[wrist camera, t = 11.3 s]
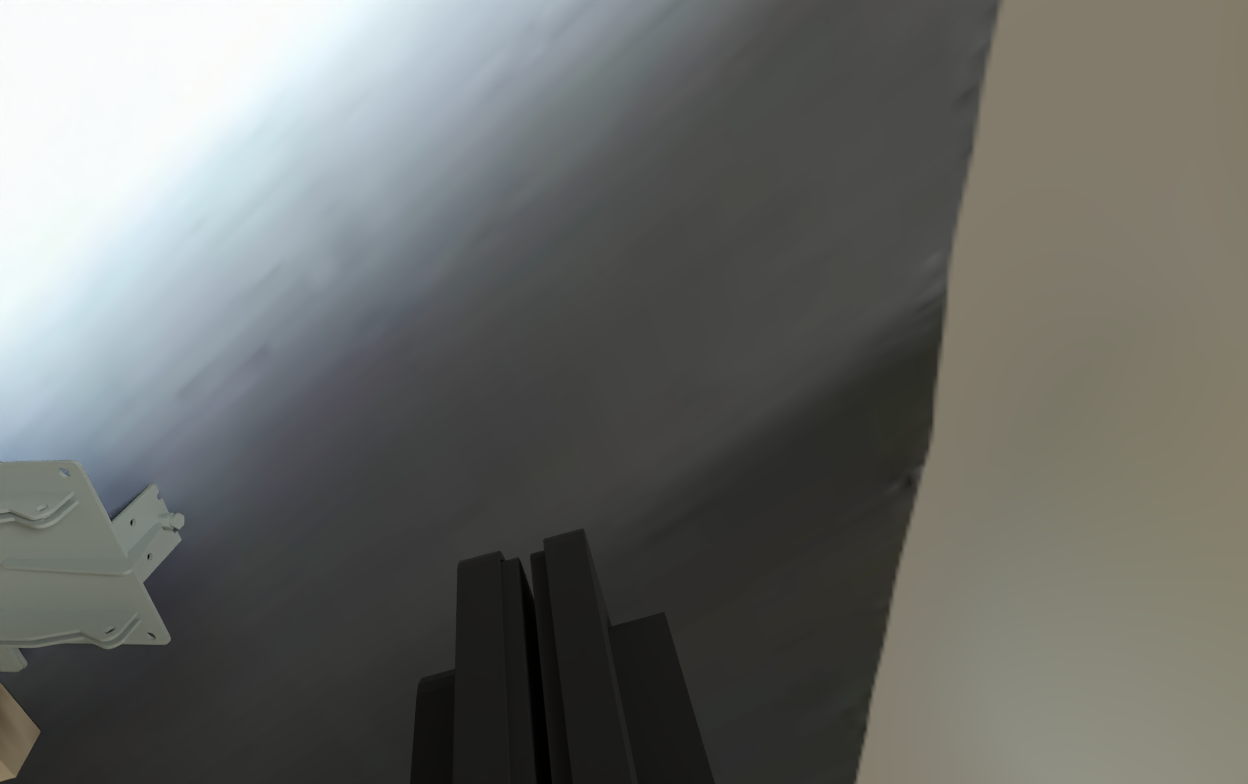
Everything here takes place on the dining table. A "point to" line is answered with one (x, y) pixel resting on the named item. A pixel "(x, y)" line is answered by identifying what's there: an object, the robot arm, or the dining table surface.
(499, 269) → the dining table surface
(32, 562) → the metal bracket
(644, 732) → the robot arm
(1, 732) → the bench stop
